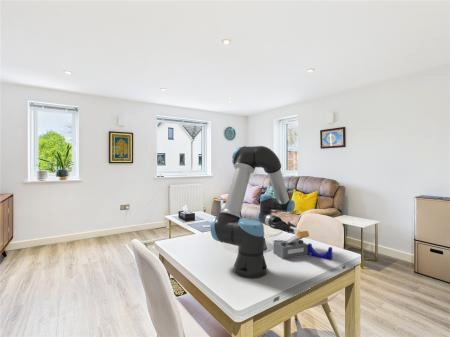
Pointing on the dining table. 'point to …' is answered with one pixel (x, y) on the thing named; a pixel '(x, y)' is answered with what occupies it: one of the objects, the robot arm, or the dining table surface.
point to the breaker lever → (298, 237)
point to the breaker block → (290, 249)
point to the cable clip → (320, 255)
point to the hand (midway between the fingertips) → (298, 232)
